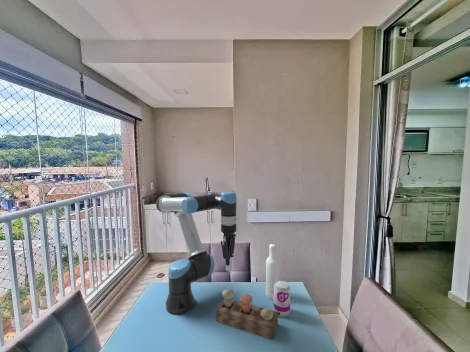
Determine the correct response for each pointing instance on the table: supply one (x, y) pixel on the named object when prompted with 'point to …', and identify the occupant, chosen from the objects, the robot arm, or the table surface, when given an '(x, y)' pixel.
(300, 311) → the table surface
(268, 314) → the maple plug
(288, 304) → the supplement can
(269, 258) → the bottle
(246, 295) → the brick-red plug
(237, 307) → the socket board
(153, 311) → the table surface
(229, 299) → the maple plug
